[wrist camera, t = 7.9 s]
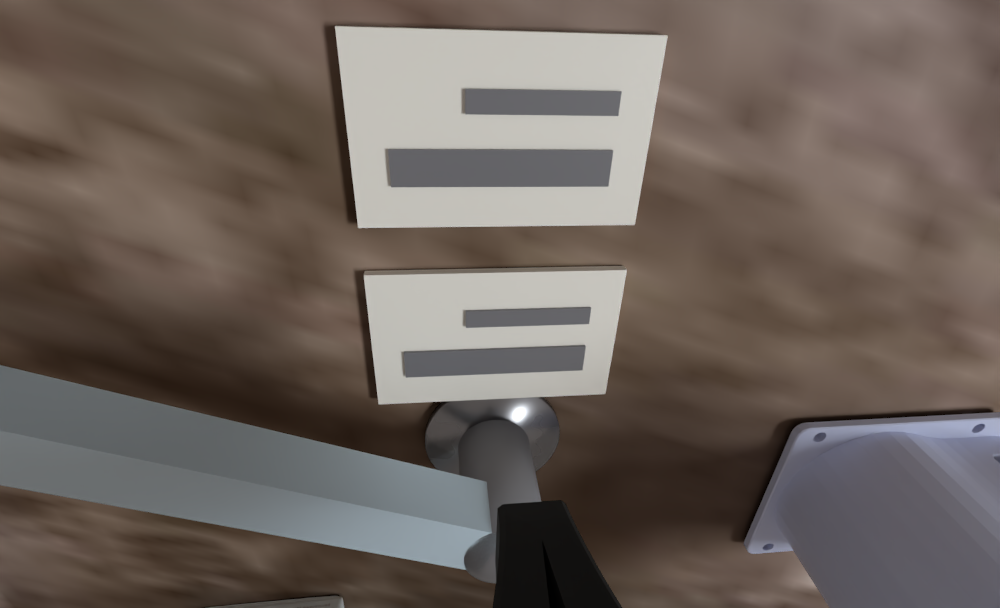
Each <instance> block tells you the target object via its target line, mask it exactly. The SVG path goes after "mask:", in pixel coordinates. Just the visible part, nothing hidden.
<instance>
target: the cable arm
mask: <svg viewBox="0 0 1000 608" xmlns="http://www.w3.org/2000/svg"><path fill="white" fill-rule="evenodd" d="M458 454H459V475H456V474H452V473H448V472H444V471H440V470H436V469H431V468H427V467H423V466H419V465H415V464H411V463H406V462H402V461H398V460H394V459H390V458H386V457H381V456H377V455H373V454H369V453H365V452H361V451H356V450H352V449H348V448H344V447H340V446H336V445H331V444H327V443H323V442H319V441H315V440H311V439H306V438H302V437H298V436H294V435H290V434H286V433H281V432H277V431H273V430H269V429H265V428H261V427H256V426H252V425H248V424H244V423H240V422H236V421H231V420H227V419H223V418H219V417H215V416H211V415H206V414H202V413H198V412H194V411H190V410H186V409H181V408H177V407H173V406H169V405H165V404H161V403H156V402H152V401H148V400H144V399H140V398H136V397H131V396H127V395H123V394H119V393H115V392H111V391H106V390H102V389H98V388H94V387H90V386H86V385H81V384H77V383H73V382H69V381H65V380H61V379H56V378H52V377H48V376H44V375H40V374H36V373H31V372H27V371H23V370H19V369H15V368H11V367H6V366H2V365H0V485H2V486H7V487H13V488H18V489H24V490H29V491H35V492H40V493H46V494H51V495H57V496H62V497H68V498H73V499H79V500H84V501H90V502H95V503H101V504H106V505H112V506H117V507H123V508H128V509H134V510H139V511H145V512H150V513H156V514H161V515H167V516H172V517H178V518H183V519H189V520H194V521H200V522H205V523H211V524H216V525H222V526H227V527H233V528H238V529H244V530H249V531H255V532H260V533H266V534H271V535H277V536H282V537H288V538H293V539H299V540H304V541H310V542H315V543H321V544H326V545H332V546H337V547H343V548H348V549H354V550H359V551H365V552H370V553H376V554H381V555H387V556H392V557H398V558H403V559H409V560H414V561H420V562H425V563H431V564H436V565H442V566H447V567H453V568H458V569H464V570H467V571H468V573H469V574H470V575H472V576H473V577H475V578H476V579H479V580H481V581H484V582H488V583H496V567H495V554H496V531H497V508H498V507H500V506H501V505H503V504H512V503H527V502H541V497H540V493H539V488H538V483H537V478H536V473H535V468H534V463H533V458H532V453H531V449H530V444H529V439H528V436H527V434H526V432H525V431H524V430H523V429H522V428H521V427H520V426H518V425H517V424H515V423H512V422H509V421H505V420H490V421H485V422H481V423H479V424H476V425H475V426H473V427H471V428H470V429H468V430H467V431H466V432H465V433H464V434H463V436H462V437H461V439H460V441H459V445H458Z"/></svg>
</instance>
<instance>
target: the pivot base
mask: <svg viewBox="0 0 1000 608" xmlns="http://www.w3.org/2000/svg"><path fill="white" fill-rule="evenodd" d="M488 395H489V394H488ZM464 397H465V396H464ZM471 398H472V397H471ZM490 420H505V421H509V422H512V423H515V424H517V425H518V426H520V427H521V428H522V429H523V430H524V431H525V432H526V434H527V436H528V439H529V444H530V449H531V453H532V458H533V463H534V468H535V472H536V471H537V470H538V469H540V468H541V467H542V466H543V465H544V464H545V463H546V462H547V461H548V460H549V459H550V457H551V456H552V455H553V453H554V451H555V449H556V447H557V444H558V441H559V432H560V430H559V424H558V420H557V417H556V414H555V412H554V410H553V408H552V406H551V405H550V404H549V402H548V401H547V400H546V399H545V398H543V397H530V398H508V399H497V398H496V399H486V400H476V399H475V400H464V401H443V402H442V403H441V404H440V405H439V406H438V407H437V408H436V409H435V411H434V412H433V413H432V415H431V417H430V418H429V421H428V423H427V426H426V431H425V447H426V452H427V455H428V457H429V459H430V461H431V463H432V464H433V465H434V466H435V468H437V469H438V470H440V471H444V472H448V473H452V474H456V475H459V454H458V445H459V441H460V439H461V437H462V436H463V434H464V433H465V432H466V431H467V430H468V429H470V428H471V427H473V426H475V425H476V424H479V423H481V422H485V421H490Z"/></svg>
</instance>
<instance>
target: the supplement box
mask: <svg viewBox="0 0 1000 608" xmlns="http://www.w3.org/2000/svg"><path fill="white" fill-rule="evenodd" d="M207 608H344V603H343V598H342V597H340V596H337V595H335V596H324V597H309V598H301V599H289V600H279V601H268V602H256V603H246V604H236V605H227V606H217V607H207Z"/></svg>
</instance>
